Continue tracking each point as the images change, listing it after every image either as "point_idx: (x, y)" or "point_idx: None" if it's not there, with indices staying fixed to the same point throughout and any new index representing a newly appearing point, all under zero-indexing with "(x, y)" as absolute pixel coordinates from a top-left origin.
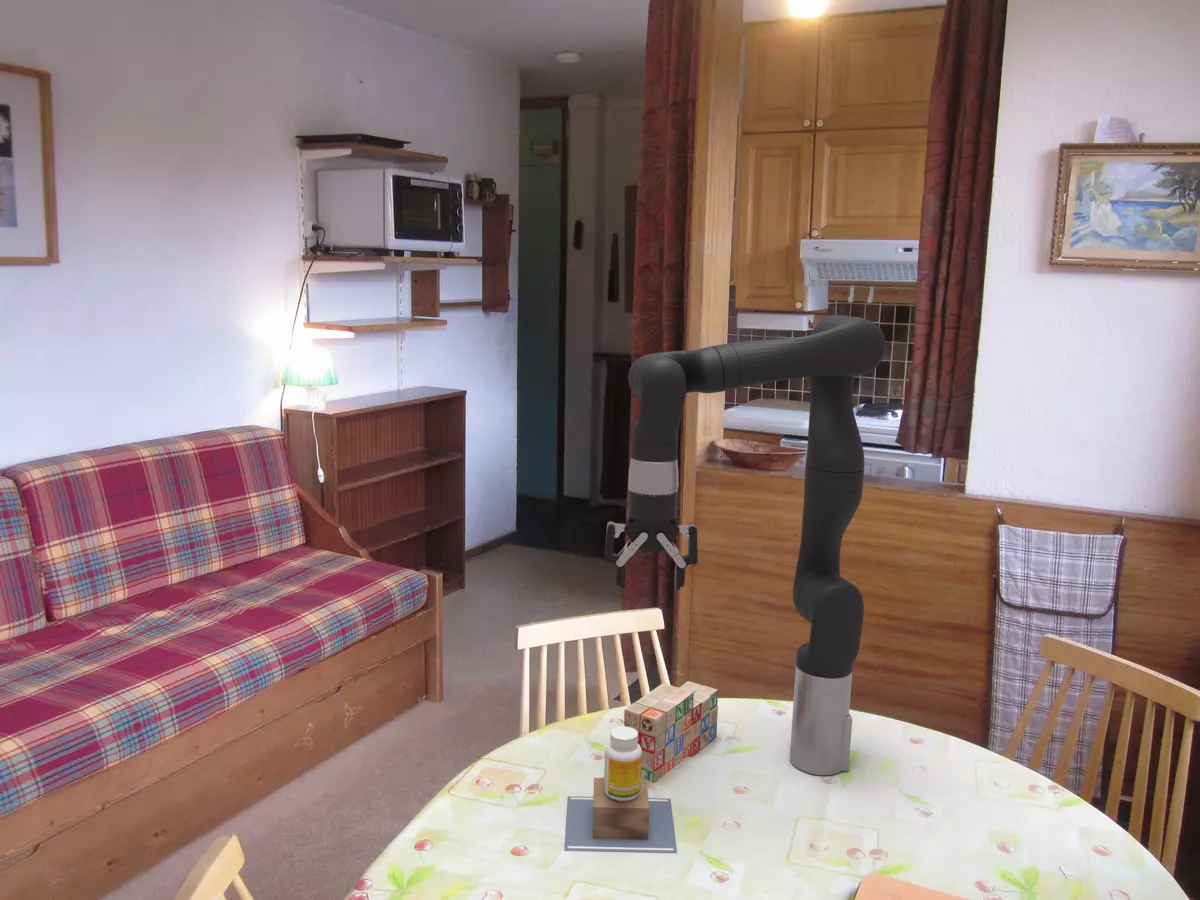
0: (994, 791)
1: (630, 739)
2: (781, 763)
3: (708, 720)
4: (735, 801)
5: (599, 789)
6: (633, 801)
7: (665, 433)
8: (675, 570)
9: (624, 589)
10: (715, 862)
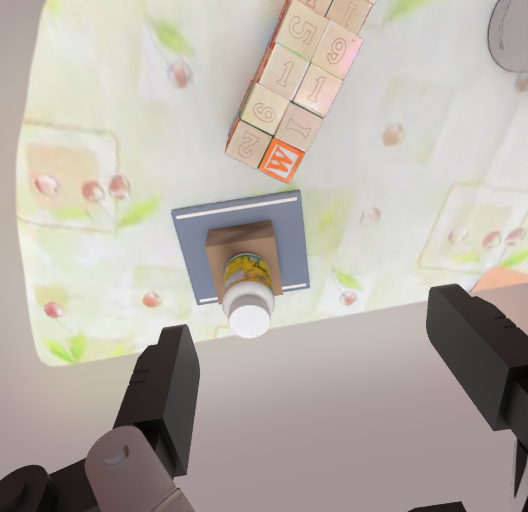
0: None
1: (261, 334)
2: (471, 39)
3: None
4: (381, 166)
5: (218, 270)
6: None
7: None
8: (481, 355)
9: (198, 363)
10: (346, 280)
